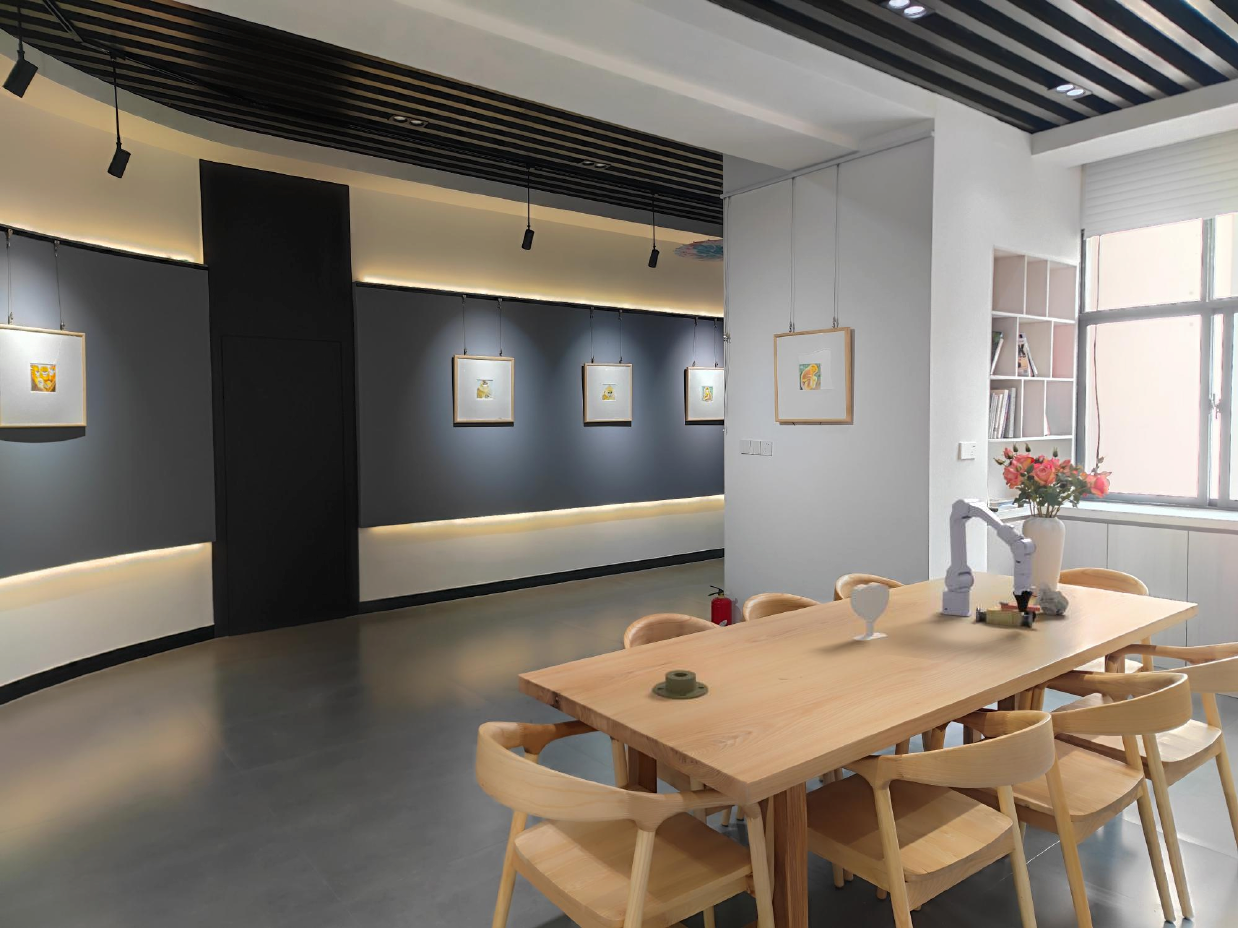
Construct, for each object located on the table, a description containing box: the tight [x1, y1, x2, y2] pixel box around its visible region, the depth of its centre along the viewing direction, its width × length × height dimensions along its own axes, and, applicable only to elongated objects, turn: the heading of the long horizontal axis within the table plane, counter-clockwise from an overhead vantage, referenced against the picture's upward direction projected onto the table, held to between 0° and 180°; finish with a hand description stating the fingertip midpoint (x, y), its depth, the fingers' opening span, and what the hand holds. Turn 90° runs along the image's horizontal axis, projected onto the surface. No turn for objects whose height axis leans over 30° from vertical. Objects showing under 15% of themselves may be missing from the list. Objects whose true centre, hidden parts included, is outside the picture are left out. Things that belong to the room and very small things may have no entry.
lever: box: [999, 601, 1041, 613], centre depth 287 cm, size 13×3×2 cm, turn 63°
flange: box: [653, 669, 709, 700], centre depth 223 cm, size 5×15×15 cm
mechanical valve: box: [1023, 581, 1070, 621], centre depth 298 cm, size 10×18×15 cm
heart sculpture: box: [849, 581, 890, 642], centre depth 274 cm, size 16×5×18 cm, turn 122°
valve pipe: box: [975, 606, 1034, 628], centre depth 290 cm, size 18×6×6 cm, turn 60°
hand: (1022, 611), depth 282 cm, fingers closed
